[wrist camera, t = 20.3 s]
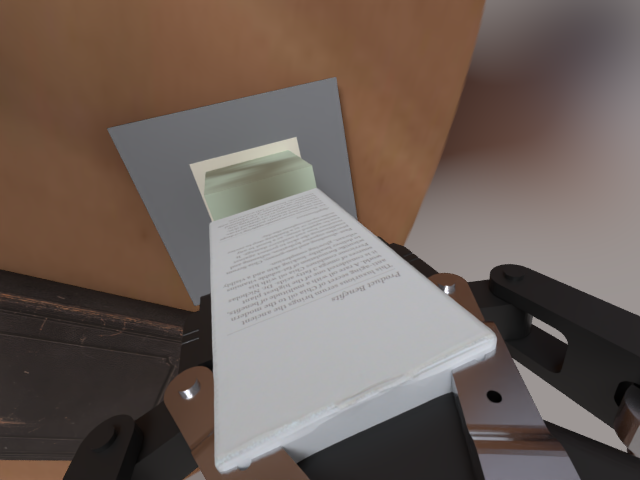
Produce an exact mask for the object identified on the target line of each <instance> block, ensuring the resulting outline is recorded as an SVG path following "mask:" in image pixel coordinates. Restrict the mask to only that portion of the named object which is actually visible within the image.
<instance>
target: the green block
mask: <svg viewBox="0 0 640 480" xmlns="http://www.w3.org/2000/svg"><path fill="white" fill-rule="evenodd" d="M314 188H317V187H316V182H315V177H314V172H313V168H312V165H311V164H309V163H308V162H306V161H305V160H303V159H302V158H300V157H299V156H297V155H295V154H294V153H292V152H291V151H289V150H286V151H283V152H279V153H275V154H271V155H268V156H264V157H260V158H256V159H253V160H249V161H245V162H241V163H238V164H234V165H230V166H226V167H223V168H219V169H215V170H211V171H208V172H206V174H205V189H204V197H205V200H206V202H207V205H208V207H209V210H210V212H211V215H212V217H213V220H214V221H216V220H219V219H222V218H225V217H229V216H232V215H235V214H238V213H241V212H244V211H247V210H250V209H253V208H256V207H259V206H262V205H265V204H268V203H271V202H274V201H277V200H280V199H283V198H286V197H289V196H293V195H296V194H299V193H302V192H305V191H308V190H311V189H314Z"/></svg>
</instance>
